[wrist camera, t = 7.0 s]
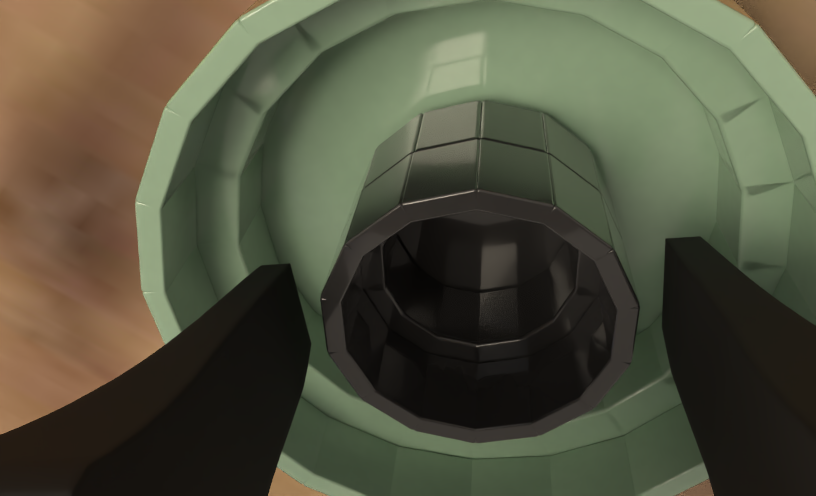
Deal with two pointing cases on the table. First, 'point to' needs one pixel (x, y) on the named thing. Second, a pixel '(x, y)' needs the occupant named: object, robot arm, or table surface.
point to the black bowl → (481, 277)
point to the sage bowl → (507, 84)
